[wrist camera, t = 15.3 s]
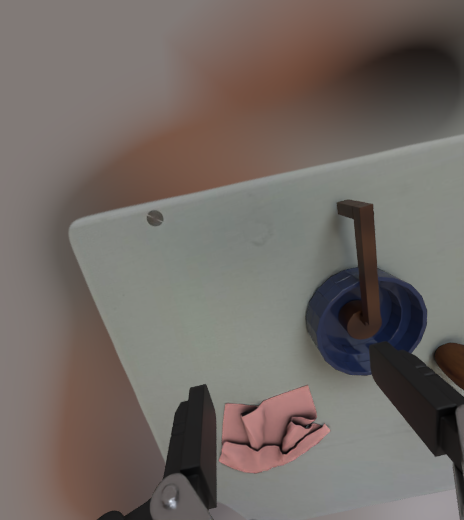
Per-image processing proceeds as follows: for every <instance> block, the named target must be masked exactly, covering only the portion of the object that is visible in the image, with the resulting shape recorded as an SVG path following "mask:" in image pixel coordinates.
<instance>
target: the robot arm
mask: <svg viewBox="0 0 464 520" xmlns="http://www.w3.org/2000/svg"><path fill="white" fill-rule="evenodd" d="M369 355H370V368H371V373H372V376H373V379H374V380H375V382H376V384H377V385H378V386H379V388H380V389H381V390H382V391H383V392H384V394H385V395H386V396H387V397H388V399H389V400H390V401H391V402H392V404H393V405H394V406H395V407H396V409H397V410H398V411H399V412H400V414H401V415H402V416H403V417H404V418H405V420H406V421H407V422H408V423H409V425H410V426H411V427H412V428H413V430H414V431H415V432H416V433H417V435H418V436H419V437H420V438H421V440H422V441H423V442H424V443H425V445H426V446H427V447H428V448H429V449H430V451H431V452H432V453H433V454H434V456H435V457H436V456H441V455H445V454H447V455H448V457H449V458H450V459H451V460H452V461H453V473H454V481H455V488H456V495H457V502H458V510H459V516H460V520H464V397H463V396H462V395H461V394H460V393H459V392H457V391H456V390H455V389H454V388H453V387H451V386H450V385H449V384H448V383H447V382H446V381H444V380H443V379H442V378H441V377H440V376H439V375H437V374H435V372H434V371H433V370H432V369H430V368H429V367H427V366H426V364H425V363H423V362H422V361H421V360H420V359H419V358H418V357H416V356H415V355H413V354H411V353H409V352H407V351H405V350H399V351H398V350H397V349H396V348H394V347H393V346H392V345H391V344H390V343H389V342H387V341H384V342H380V343H376V344H372V345H370V346H369ZM216 507H217V477H216V414H215V409H214V406H213V403H212V400H211V397H210V394H209V391H208V388H207V385H206V384H203V385H199V386H195V387H191V388H190V391H189V399H188V401H184V402H181V403H180V405H179V407H178V409H177V410H176V412H175V416H174V421H173V427H172V433H171V438H170V444H169V450H168V455H167V461H166V466H165V472H164V477H163V480H162V481H161V482H160V483H159V484H158V486H157V487H156V489H155V491H154V492H153V495H152V497H151V498H150V499H149V500H148V501H147V502H146V503H144V504H143V505H141V506H140V507H138V508H137V509H135V510H133V511H132V512H130V513H129V514H127V515H126V516H123V515H122V513H120V512H119V511H110V512H108V513H106V514H104V515H103V516H101V517H100V518H99V519H97V520H214V519H213V518H212V516H211V515H210V513H209V511H208V510H209V509H211V508H216Z"/></svg>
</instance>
